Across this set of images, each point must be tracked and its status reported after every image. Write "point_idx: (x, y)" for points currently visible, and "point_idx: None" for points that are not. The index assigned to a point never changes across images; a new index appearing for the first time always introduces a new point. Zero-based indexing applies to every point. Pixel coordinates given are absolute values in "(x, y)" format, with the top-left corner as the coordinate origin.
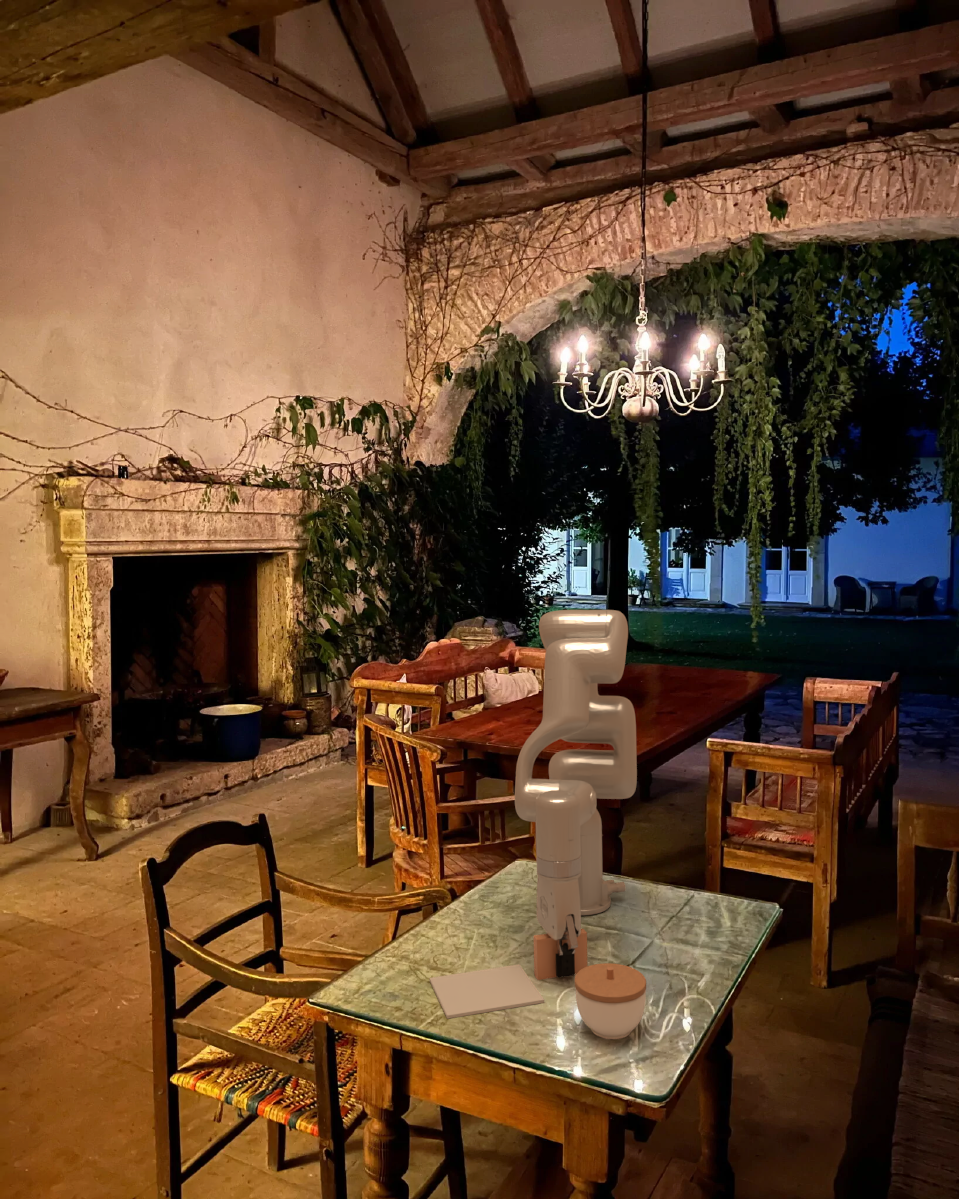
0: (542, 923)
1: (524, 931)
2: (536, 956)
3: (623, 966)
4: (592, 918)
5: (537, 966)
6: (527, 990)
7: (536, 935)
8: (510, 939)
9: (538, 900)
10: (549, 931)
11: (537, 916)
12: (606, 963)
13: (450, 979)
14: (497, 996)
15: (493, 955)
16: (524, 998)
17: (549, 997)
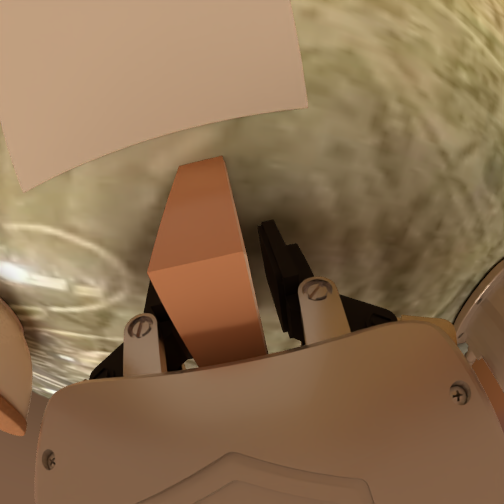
0: (277, 390)
1: (483, 187)
2: (180, 200)
3: (15, 431)
4: (448, 318)
5: (172, 185)
6: (68, 129)
7: (243, 273)
8: (471, 139)
9: (452, 497)
10: (105, 410)
11: (420, 346)
12: (7, 419)
13: None
14: (42, 28)
15: (407, 47)
16: (22, 126)
17: (58, 204)
